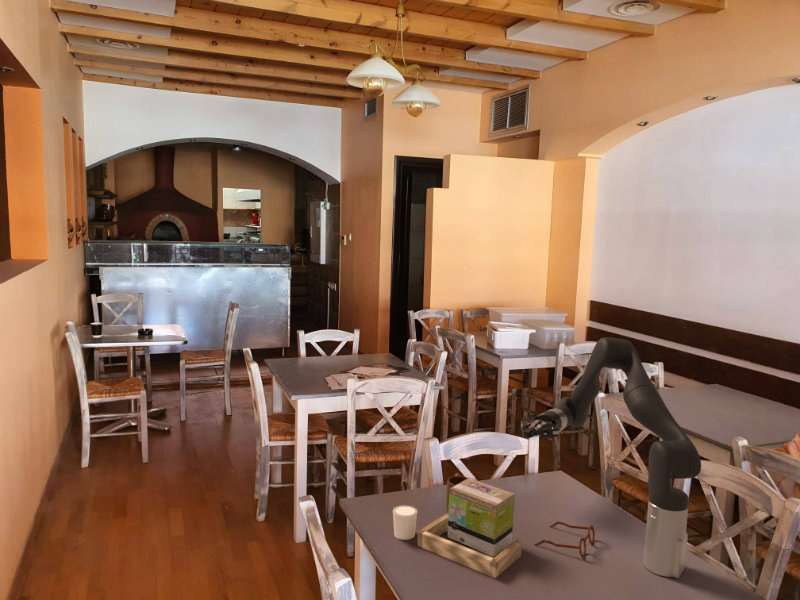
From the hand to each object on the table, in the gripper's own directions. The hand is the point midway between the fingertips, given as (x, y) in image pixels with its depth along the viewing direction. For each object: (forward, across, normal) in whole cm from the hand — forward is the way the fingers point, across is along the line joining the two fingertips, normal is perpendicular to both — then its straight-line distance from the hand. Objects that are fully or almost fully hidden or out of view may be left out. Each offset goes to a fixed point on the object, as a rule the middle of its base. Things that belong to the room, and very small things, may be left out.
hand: (526, 434), depth 187 cm
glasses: (+9, +17, +25) cm, 31 cm away
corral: (+30, -1, +24) cm, 39 cm away
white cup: (+34, -18, +24) cm, 46 cm away
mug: (+10, -16, +24) cm, 31 cm away
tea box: (+24, -1, +24) cm, 34 cm away
